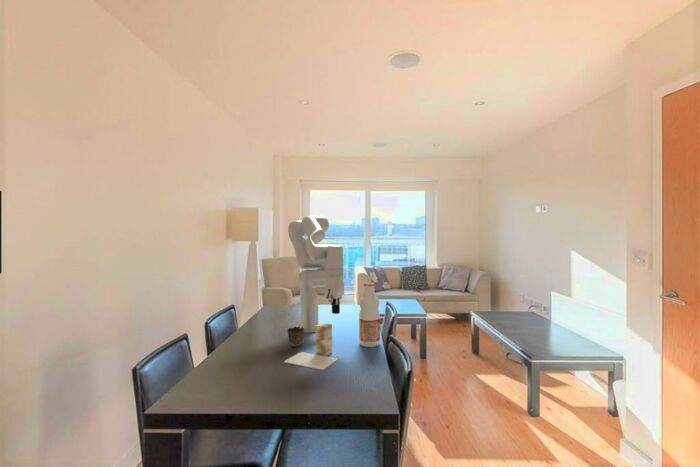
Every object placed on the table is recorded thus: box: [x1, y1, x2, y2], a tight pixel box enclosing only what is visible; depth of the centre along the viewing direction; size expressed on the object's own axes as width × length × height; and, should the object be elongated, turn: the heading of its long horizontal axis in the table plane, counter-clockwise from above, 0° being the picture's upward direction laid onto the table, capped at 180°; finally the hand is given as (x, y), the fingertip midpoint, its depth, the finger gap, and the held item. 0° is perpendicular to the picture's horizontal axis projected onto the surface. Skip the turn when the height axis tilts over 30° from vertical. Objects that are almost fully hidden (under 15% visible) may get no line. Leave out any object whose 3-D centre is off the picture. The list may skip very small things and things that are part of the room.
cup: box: [287, 326, 305, 348], centre depth 154 cm, size 8×7×8 cm
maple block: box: [315, 322, 333, 357], centre depth 146 cm, size 5×5×12 cm
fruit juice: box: [358, 282, 381, 348], centre depth 157 cm, size 9×9×28 cm
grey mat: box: [283, 351, 339, 371], centre depth 137 cm, size 18×12×1 cm, turn 64°
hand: (335, 313), depth 154 cm, fingers closed
